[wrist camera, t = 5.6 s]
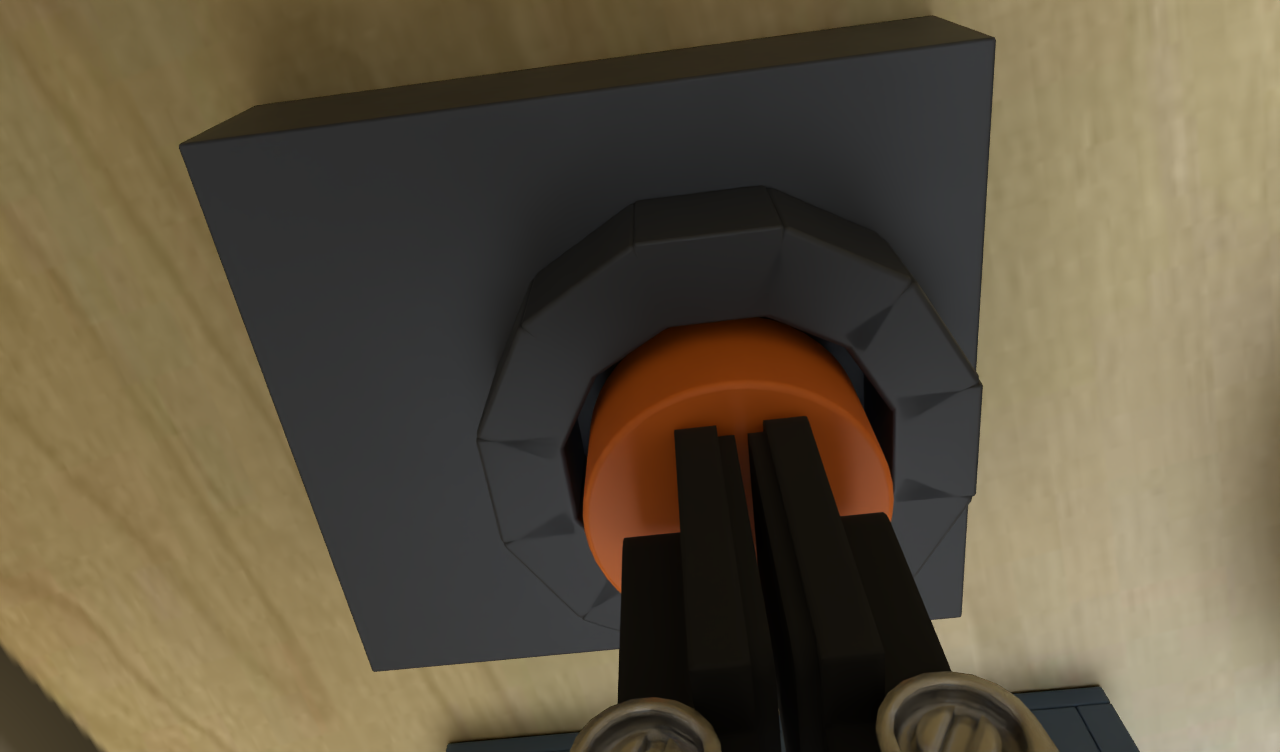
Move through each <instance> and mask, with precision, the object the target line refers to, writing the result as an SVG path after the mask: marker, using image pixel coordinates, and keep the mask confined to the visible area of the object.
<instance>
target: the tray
mask: <svg viewBox="0 0 1280 752" xmlns="http://www.w3.org/2000/svg"><path fill="white" fill-rule="evenodd" d="M1013 695H1015V696H1016V697H1018V698H1019V699H1020V700H1021V701H1022V702H1023V703H1024V704H1025V706H1026V707H1027V708H1028V709H1029V710H1030V711H1031V712H1032V713H1033V714H1034V715H1035V716H1036V718H1037V719H1038V721H1039V722H1040V724H1041V725H1042V727H1043V728H1044V729H1045V731H1046V732H1047V734H1048V735H1049V737H1050V738H1051V740H1052V741H1053V743H1054V744H1055V745H1056V747H1057V748H1058V750H1059V751H1060V752H1140V751H1139V749H1138V748H1137V746H1136V744H1135V743H1134V741H1133V739H1132V738H1131V736H1130V734H1129V733H1128V731H1127V729H1126V728H1125V726H1124V724H1123V723H1122V721H1121V719H1120V717H1119V716H1118V714H1117V712H1116V711H1115V709H1114V707H1113V706H1112V704H1110V701H1109V699H1108V697H1107V696H1106V694H1105V692H1104V691H1103V689H1102V688H1101V687H1088V688H1076V689H1065V690H1054V691H1042V692H1031V693H1019V694H1013ZM779 724H780V738H781V751H782V752H786V750H785V744H784V738H783V732H782V726H781V721H780V715H779ZM579 733H580V732H576V733H565V734H553V735H542V736H531V737H519V738H508V739H496V740H485V741H474V742H462V743H451V744H448V745H447V749H446V752H570V749H571V747H572V745H573V743H574V740H575V738H576V736H577V735H578V734H579Z"/></svg>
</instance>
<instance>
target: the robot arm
mask: <svg viewBox="0 0 1280 752" xmlns="http://www.w3.org/2000/svg"><path fill="white" fill-rule="evenodd" d="M674 440H675V456H676V472H677V488H678V503H679V519H680V532H677V533H667V534H657V535H647V536H637V537H627V538H624V540H623V547H622V577H621V611H620V645H619V679H618V704H617V705H614V706H611V707H609V708H607V709H606V710H604V711H603V712H601V713H600V714H598V715H597V716H595V717H594V718H592V719H591V720H590V721H589V722H588V723H587V725H586V726H585V727H584V728H583V729H582V730H581V732H580V733H579V734H578V735H577V736H576V738H575V740H574V743H573V745H572V747H571V749H570V752H782V751H781V738H780V724H779V715H780V721H781V726H782V732H783V738H784V744H785V750H786V752H1060V751H1059V750H1058V748H1057V747H1056V745H1055V744H1054V743H1053V741H1052V740H1051V738H1050V737H1049V735H1048V734H1047V732H1046V731H1045V729H1044V728H1043V727H1042V725H1041V724H1040V722H1039V721H1038V719H1037V718H1036V716H1035V715H1034V714H1033V713H1032V712H1031V711H1030V710H1029V709H1028V708H1027V707H1026V706H1025V704H1024V703H1023V702H1022V701H1021V700H1020V699H1019V698H1018V697H1016V696H1015V695H1013V694H1012V693H1010V692H1009V691H1007V690H1006V689H1004V688H1003V687H1001V686H999V685H998V684H996V683H993V682H991V681H988V680H985V679H983V678H980V677H977V676H975V675H971V674H964V673H958V672H952V671H951V669H950V666H949V664H948V661H947V659H946V657H945V654H944V652H943V649H942V647H941V644H940V642H939V639H938V637H937V635H936V632H935V630H934V627H933V625H932V622H931V620H930V617H929V615H928V612H927V610H926V608H925V605H924V603H923V600H922V598H921V595H920V593H919V590H918V588H917V585H916V583H915V581H914V578H913V576H912V573H911V571H910V568H909V566H908V563H907V561H906V559H905V556H904V554H903V551H902V549H901V546H900V544H899V541H898V539H897V536H896V534H895V532H894V529H893V527H892V524H891V522H890V520H889V518H888V516H887V515H886V514H885V513H884V512H877V513H867V514H857V515H847V516H840V514H839V511H838V508H837V505H836V502H835V499H834V496H833V493H832V490H831V487H830V484H829V481H828V478H827V475H826V472H825V469H824V466H823V463H822V460H821V456H820V453H819V450H818V447H817V444H816V441H815V438H814V435H813V432H812V429H811V426H810V423H809V420H808V418H807V416H798V417H789V418H780V419H770V420H763V432H755V433H748V450H749V462H750V475H751V487H752V499H753V512H754V524H755V537H756V549H757V559H756V553H755V548H754V542H753V536H752V531H751V525H750V520H749V514H748V508H747V503H746V497H745V491H744V486H743V480H742V475H741V469H740V463H739V458H738V452H737V446H736V441H735V436H734V435H727V436H718V434H717V428H716V425H714V426H705V427H696V428H686V429H677V430H674ZM757 561H758V565H757ZM778 709H779V711H778Z"/></svg>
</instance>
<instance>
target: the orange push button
mask: <svg viewBox="0 0 1280 752" xmlns="http://www.w3.org/2000/svg"><path fill="white" fill-rule="evenodd" d="M798 416H807V418H808V420H809V423H810V426H811V429H812V432H813V435H814V438H815V441H816V444H817V447H818V450H819V453H820V456H821V460H822V463H823V466H824V469H825V472H826V475H827V478H828V481H829V484H830V487H831V490H832V493H833V496H834V499H835V502H836V505H837V508H838V511H839V514H840V516H847V515H857V514H867V513H877V512H884V513H885V514H886V515H887V516H888V518H889V520H890V522H891V519H892V514H893V504H894V494H893V482H892V478H891V473H890V469H889V466H888V463H887V461H886V459H885V456H884V454H883V451H882V449H881V447H880V445H879V442H878V440H877V438H876V436H875V434H874V431H873V429H872V427H871V425H870V422H869V420H868V418H867V416H866V413H865V411H864V409H863V407H862V405H861V402H860V400H859V398H858V396H857V393H856V391H855V389H854V387H853V384H852V382H851V380H850V378H849V377H848V375H847V374H846V372H845V370H844V369H843V367H842V366H841V364H840V363H839V362H838V361H837V360H836V359H835V357H834V356H833V355H832V354H831V353H830V352H829V351H828V350H826V349H825V348H824V347H823V346H822V345H821V344H820V343H818V342H817V341H815V340H814V339H812V338H811V337H809V336H808V335H806V334H805V333H803V332H801V331H799V330H797V329H794V328H792V327H790V326H788V325H785V324H782V323H779V322H776V321H773V320H770V319H764V318H759V317H755V318H746V319H738V320H729V321H720V322H711V323H703V324H694V325H685V326H676V327H670V328H668V329H665V330H663V331H662V332H660V333H659V334H657V335H656V336H655V337H653V338H652V339H650V340H649V341H647V342H646V343H644V344H643V345H641V346H640V347H638V348H637V349H635V350H634V351H633V352H631V353H630V354H628V355H627V356H626V357H625V358H624V359H623V360H622V361H621V362H620V363H619V364H618V365H617V366H616V367H615V369H614V370H613V371H612V373H611V374H610V376H609V377H608V378H607V380H606V382H605V384H604V385H603V387H602V389H601V391H600V393H599V395H598V398H597V401H596V403H595V406H594V409H593V414H592V419H591V425H590V435H589V446H588V456H587V466H586V477H585V487H584V498H583V522H584V531H585V534H586V538H587V542H588V545H589V548H590V550H591V552H592V554H593V557H594V559H595V561H596V563H597V564H598V566H599V567H600V569H601V570H602V572H603V573H604V575H605V576H606V578H607V579H608V580H609V581H610V582H611V584H612V585H613V586H614V587H615V588H616V589H617V590H618V591H619V592H620V593H621V577H622V547H623V540H624V538H627V537H637V536H647V535H657V534H667V533H677V532H680V519H679V503H678V488H677V472H676V456H675V440H674V430H677V429H686V428H696V427H705V426H714V425H716V428H717V434H718V436H727V435H734V436H735V441H736V446H737V452H738V458H739V463H740V469H741V475H742V480H743V486H744V491H745V497H746V503H747V508H748V514H749V520H750V525H751V531H752V536H753V542H754V548H755V553H756V559H757V549H756V537H755V524H754V512H753V499H752V487H751V475H750V462H749V450H748V433H755V432H763V420H770V419H780V418H789V417H798ZM757 565H758V561H757Z"/></svg>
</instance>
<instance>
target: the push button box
mask: <svg viewBox="0 0 1280 752" xmlns="http://www.w3.org/2000/svg"><path fill="white" fill-rule="evenodd" d="M995 46H996V40H995V37H992V36H989V35H986V34H983V33H981V32H978V31H975V30H972V29H969V28H967V27H964V26H961V25H958V24H955V23H953V22H950V21H947V20H944V19H942V18H939V17H936V16H925V17H918V18H910V19H903V20H895V21H888V22H880V23H873V24H865V25H858V26H850V27H843V28H835V29H828V30H820V31H813V32H805V33H798V34H790V35H783V36H775V37H768V38H760V39H753V40H745V41H738V42H730V43H723V44H715V45H708V46H700V47H693V48H685V49H678V50H670V51H663V52H655V53H648V54H640V55H633V56H625V57H618V58H610V59H603V60H595V61H588V62H580V63H573V64H565V65H558V66H550V67H542V68H535V69H527V70H520V71H512V72H505V73H497V74H490V75H482V76H475V77H467V78H460V79H452V80H445V81H437V82H430V83H422V84H415V85H407V86H400V87H392V88H385V89H377V90H370V91H362V92H355V93H347V94H340V95H332V96H325V97H317V98H310V99H302V100H295V101H287V102H280V103H272V104H265V105H257V106H254V107H252V108H250V109H248V110H246V111H244V112H242V113H240V114H238V115H236V116H234V117H232V118H230V119H228V120H226V121H224V122H222V123H220V124H218V125H216V126H214V127H212V128H210V129H208V130H206V131H204V132H202V133H201V134H199V135H197V136H195V137H193V138H191V139H189V140H187V141H185V142H183V143H181V144H179V149H180V152H181V154H182V157H183V160H184V162H185V165H186V168H187V171H188V173H189V176H190V179H191V181H192V184H193V187H194V189H195V192H196V195H197V198H198V200H199V203H200V206H201V208H202V211H203V214H204V216H205V219H206V222H207V225H208V227H209V230H210V233H211V235H212V238H213V241H214V244H215V246H216V249H217V252H218V254H219V257H220V260H221V262H222V265H223V268H224V271H225V273H226V276H227V279H228V281H229V284H230V287H231V289H232V292H233V295H234V298H235V300H236V303H237V306H238V308H239V311H240V314H241V316H242V319H243V322H244V325H245V327H246V330H247V333H248V335H249V338H250V341H251V343H252V346H253V349H254V352H255V354H256V357H257V360H258V362H259V365H260V368H261V370H262V373H263V376H264V379H265V381H266V384H267V387H268V389H269V392H270V395H271V397H272V400H273V403H274V406H275V408H276V411H277V414H278V416H279V419H280V422H281V425H282V427H283V430H284V433H285V435H286V438H287V441H288V443H289V446H290V449H291V452H292V454H293V457H294V460H295V462H296V465H297V468H298V470H299V473H300V476H301V479H302V481H303V484H304V487H305V489H306V492H307V495H308V497H309V500H310V503H311V506H312V508H313V511H314V514H315V516H316V519H317V522H318V524H319V527H320V530H321V533H322V535H323V538H324V541H325V543H326V546H327V549H328V551H329V554H330V557H331V560H332V562H333V565H334V568H335V570H336V573H337V576H338V578H339V581H340V584H341V587H342V589H343V592H344V595H345V597H346V600H347V603H348V606H349V608H350V611H351V614H352V616H353V619H354V622H355V624H356V627H357V630H358V633H359V635H360V638H361V641H362V643H363V646H364V649H365V651H366V654H367V657H368V660H369V662H370V665H371V668H372V670H373V671H374V672H377V671H388V670H399V669H410V668H420V667H431V666H442V665H452V664H463V663H474V662H485V661H495V660H506V659H517V658H527V657H538V656H549V655H560V654H570V653H581V652H592V651H602V650H613V649H619V645H620V611H621V593H620V592H619V591H618V590H617V589H616V588H615V587H614V586H613V585H612V584H611V582H610V581H609V580H608V579H607V578H606V576H605V575H604V573H603V572H602V570H601V569H600V567H599V566H598V564H597V563H596V561H595V559H594V557H593V554H592V552H591V550H590V548H589V545H588V542H587V538H586V534H585V531H584V522H583V498H584V487H585V477H586V466H587V456H588V446H589V435H590V425H591V419H592V414H593V409H594V406H595V403H596V401H597V398H598V395H599V393H600V391H601V389H602V387H603V385H604V384H605V382H606V380H607V378H608V377H609V376H610V374H611V373H612V371H613V370H614V369H615V367H616V366H617V365H618V364H619V363H620V362H621V361H622V360H623V359H624V358H625V357H626V356H627V355H628V354H630V353H631V352H633V351H634V350H635V349H637V348H638V347H640V346H641V345H643V344H644V343H646V342H647V341H649V340H650V339H652V338H653V337H655V336H656V335H657V334H659V333H660V332H662V331H663V330H665V329H668V328H670V327H676V326H685V325H694V324H703V323H711V322H720V321H729V320H738V319H746V318H755V317H759V318H764V319H770V320H773V321H776V322H779V323H782V324H785V325H788V326H790V327H792V328H794V329H797V330H799V331H801V332H803V333H805V334H806V335H808V336H809V337H811V338H812V339H814V340H815V341H817V342H818V343H820V344H821V345H822V346H823V347H824V348H825V349H826V350H828V351H829V352H830V353H831V354H832V355H833V356H834V357H835V359H836V360H837V361H838V362H839V363H840V364H841V366H842V367H843V369H844V370H845V372H846V374H847V375H848V377H849V378H850V380H851V382H852V384H853V387H854V389H855V391H856V393H857V396H858V398H859V400H860V402H861V405H862V407H863V409H864V411H865V413H866V416H867V418H868V420H869V422H870V425H871V427H872V429H873V431H874V434H875V436H876V438H877V440H878V442H879V445H880V447H881V449H882V451H883V454H884V456H885V459H886V461H887V463H888V466H889V469H890V473H891V478H892V482H893V494H894V504H893V514H892V519H891V524H892V527H893V529H894V532H895V534H896V536H897V539H898V541H899V544H900V546H901V549H902V551H903V554H904V556H905V559H906V561H907V563H908V566H909V568H910V571H911V573H912V576H913V578H914V581H915V583H916V585H917V588H918V590H919V593H920V595H921V598H922V600H923V603H924V605H925V608H926V610H927V612H928V615H929V617H930V620H935V619H945V618H956V617H961V614H962V598H963V581H964V564H965V547H966V531H967V514H968V504H969V503H970V502H971V499H972V496H974V495H975V494H976V484H977V468H978V453H979V437H980V422H981V406H982V391H983V385H982V383H981V382H980V380H979V375H978V374H977V372H976V364H977V347H978V330H979V313H980V297H981V280H982V263H983V246H984V230H985V213H986V196H987V180H988V163H989V146H990V129H991V113H992V96H993V79H994V63H995Z"/></svg>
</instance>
